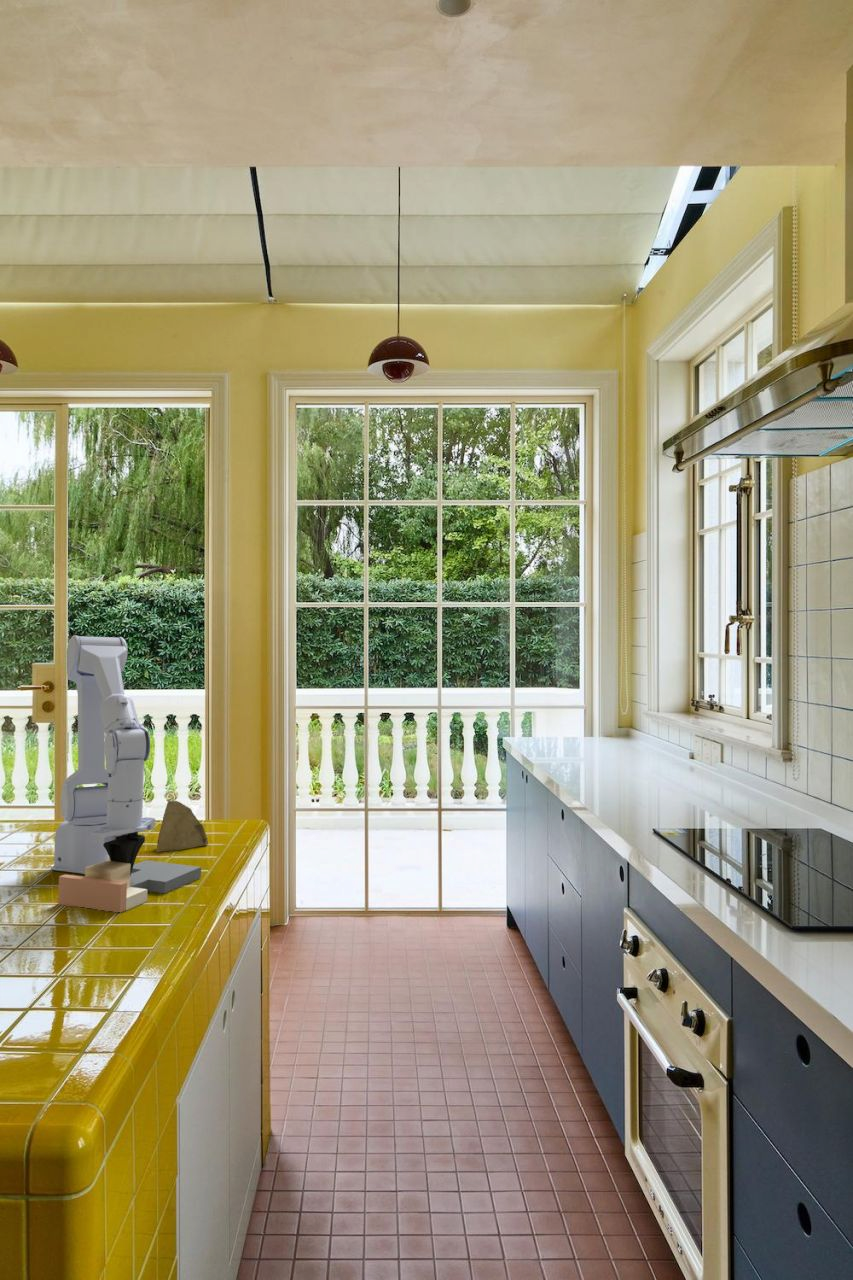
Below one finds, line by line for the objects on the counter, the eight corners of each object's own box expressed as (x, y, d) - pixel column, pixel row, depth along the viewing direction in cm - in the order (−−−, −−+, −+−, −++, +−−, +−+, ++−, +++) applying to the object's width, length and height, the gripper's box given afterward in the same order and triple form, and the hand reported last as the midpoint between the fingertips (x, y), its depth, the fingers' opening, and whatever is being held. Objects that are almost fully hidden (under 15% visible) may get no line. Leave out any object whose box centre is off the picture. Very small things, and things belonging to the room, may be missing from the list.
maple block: (84, 891, 138) (85, 867, 138) (104, 884, 142) (105, 860, 143) (110, 895, 136) (111, 870, 136) (129, 887, 141) (130, 863, 141)
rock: (213, 830, 186) (168, 823, 185) (215, 804, 181) (168, 796, 180) (201, 870, 177) (153, 863, 176) (202, 843, 172) (153, 836, 171)
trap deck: (58, 904, 137) (59, 876, 137) (145, 870, 159) (146, 847, 159) (119, 913, 134) (120, 884, 134) (200, 877, 156) (201, 853, 156)
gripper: (117, 808, 135) (114, 892, 135) (170, 794, 149) (167, 871, 149) (80, 804, 138) (77, 887, 137) (136, 791, 151) (134, 867, 151)
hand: (122, 879), depth 143 cm, fingers closed
